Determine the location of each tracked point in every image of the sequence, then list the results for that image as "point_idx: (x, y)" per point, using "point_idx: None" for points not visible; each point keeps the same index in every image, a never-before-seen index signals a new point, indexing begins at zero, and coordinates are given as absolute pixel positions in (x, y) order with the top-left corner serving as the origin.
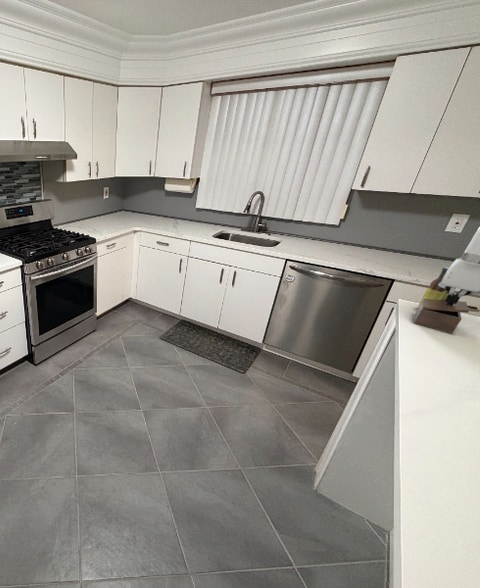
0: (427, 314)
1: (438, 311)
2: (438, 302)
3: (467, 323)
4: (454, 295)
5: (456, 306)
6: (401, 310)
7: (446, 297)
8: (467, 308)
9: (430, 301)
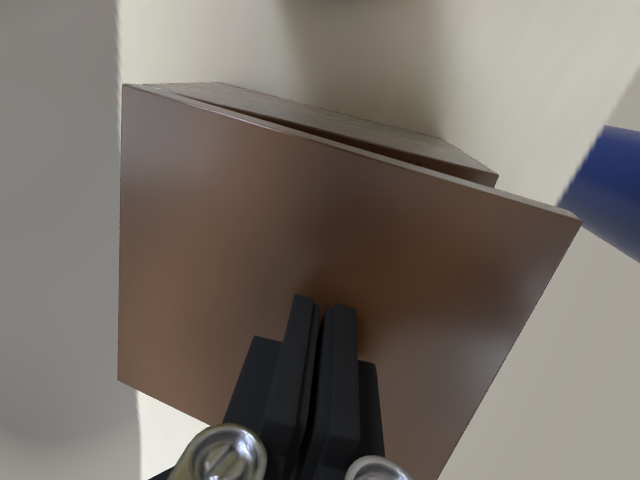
0: None
1: None
2: (239, 256)
3: (629, 7)
4: (303, 460)
5: None
6: (127, 36)
7: (239, 381)
8: (435, 472)
9: (175, 217)
